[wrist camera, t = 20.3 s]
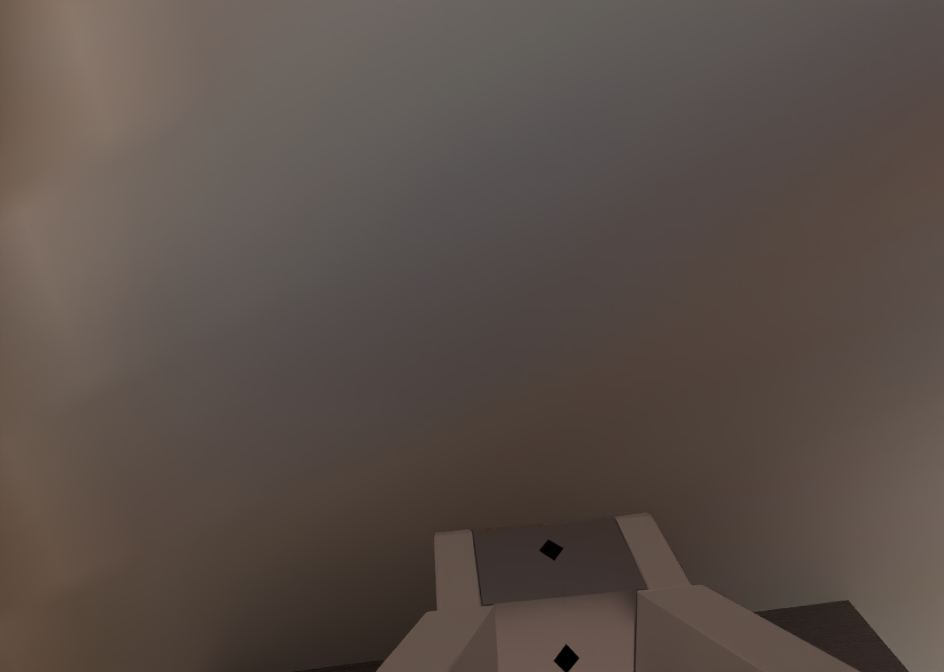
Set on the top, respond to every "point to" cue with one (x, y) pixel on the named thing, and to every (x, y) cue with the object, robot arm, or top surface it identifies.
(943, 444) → the top surface
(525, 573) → the robot arm
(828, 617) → the metal bookend
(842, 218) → the top surface
